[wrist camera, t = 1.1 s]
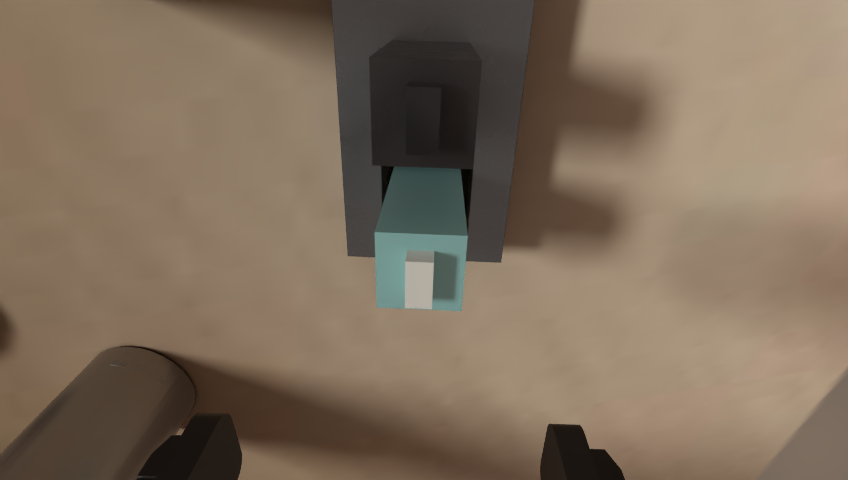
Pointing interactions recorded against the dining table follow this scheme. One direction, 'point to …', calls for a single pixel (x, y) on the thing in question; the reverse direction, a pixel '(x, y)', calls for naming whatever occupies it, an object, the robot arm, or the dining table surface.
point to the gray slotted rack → (430, 104)
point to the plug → (421, 240)
